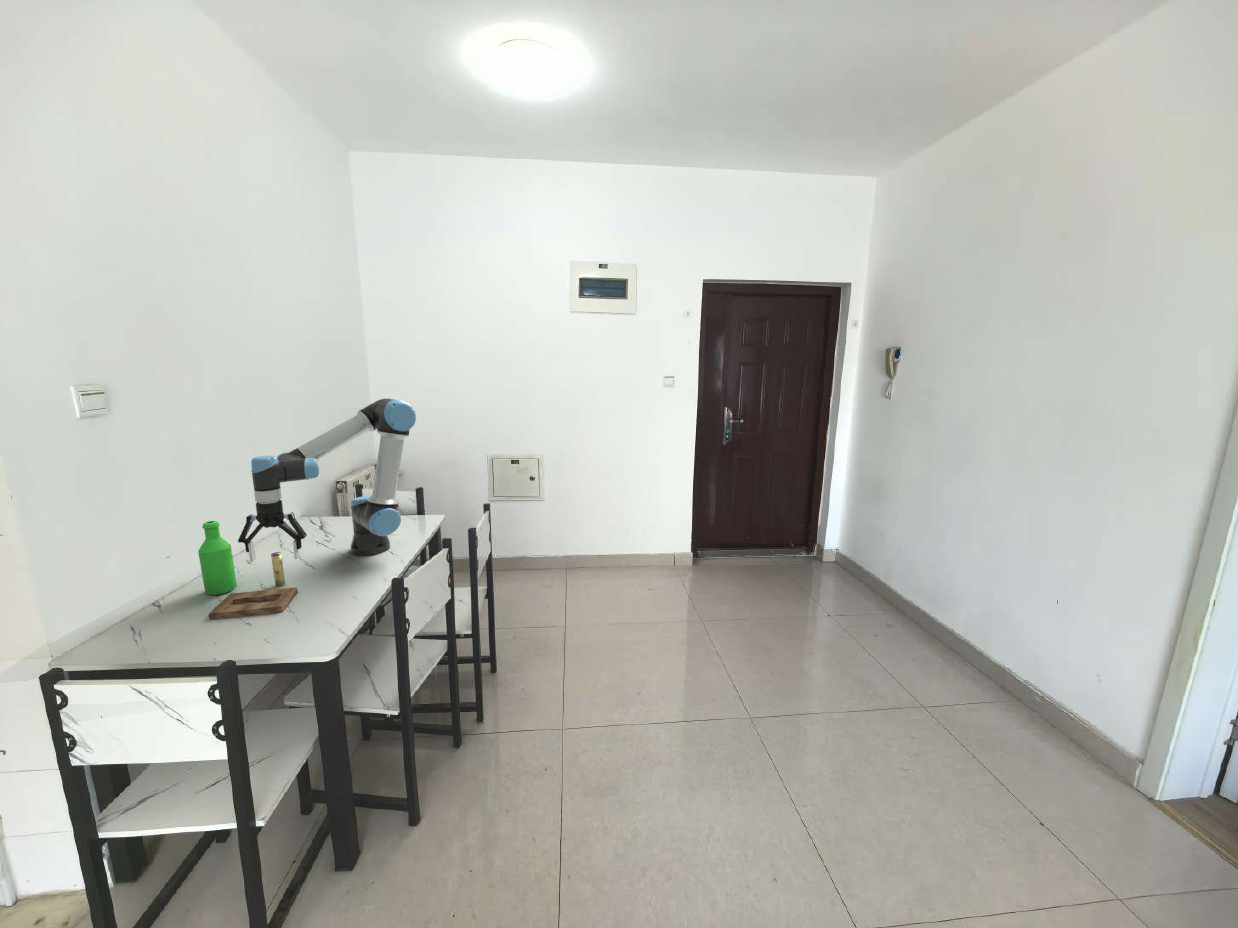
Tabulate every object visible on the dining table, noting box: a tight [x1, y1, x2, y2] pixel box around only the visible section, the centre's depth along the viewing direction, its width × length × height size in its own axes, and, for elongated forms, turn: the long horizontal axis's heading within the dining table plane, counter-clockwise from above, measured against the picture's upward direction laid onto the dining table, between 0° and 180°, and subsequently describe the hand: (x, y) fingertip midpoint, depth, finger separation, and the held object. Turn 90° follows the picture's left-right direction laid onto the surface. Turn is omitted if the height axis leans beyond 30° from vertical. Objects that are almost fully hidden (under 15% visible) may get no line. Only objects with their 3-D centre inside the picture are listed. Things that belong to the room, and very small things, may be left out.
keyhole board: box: [208, 586, 299, 621], centre depth 165 cm, size 20×14×2 cm
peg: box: [270, 551, 286, 588], centre depth 179 cm, size 3×3×12 cm
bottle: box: [198, 520, 238, 596], centre depth 173 cm, size 9×9×25 cm
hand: (275, 559), depth 178 cm, fingers open, 13 cm apart
